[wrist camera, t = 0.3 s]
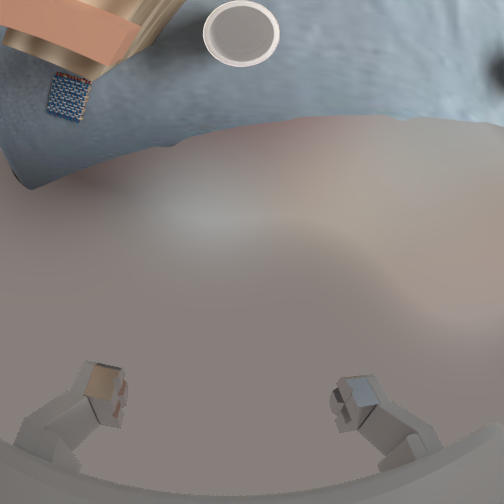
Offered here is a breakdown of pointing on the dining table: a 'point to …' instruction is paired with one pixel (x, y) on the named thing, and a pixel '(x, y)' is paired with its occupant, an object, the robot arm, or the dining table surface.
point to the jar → (241, 33)
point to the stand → (118, 3)
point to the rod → (72, 26)
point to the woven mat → (68, 96)
